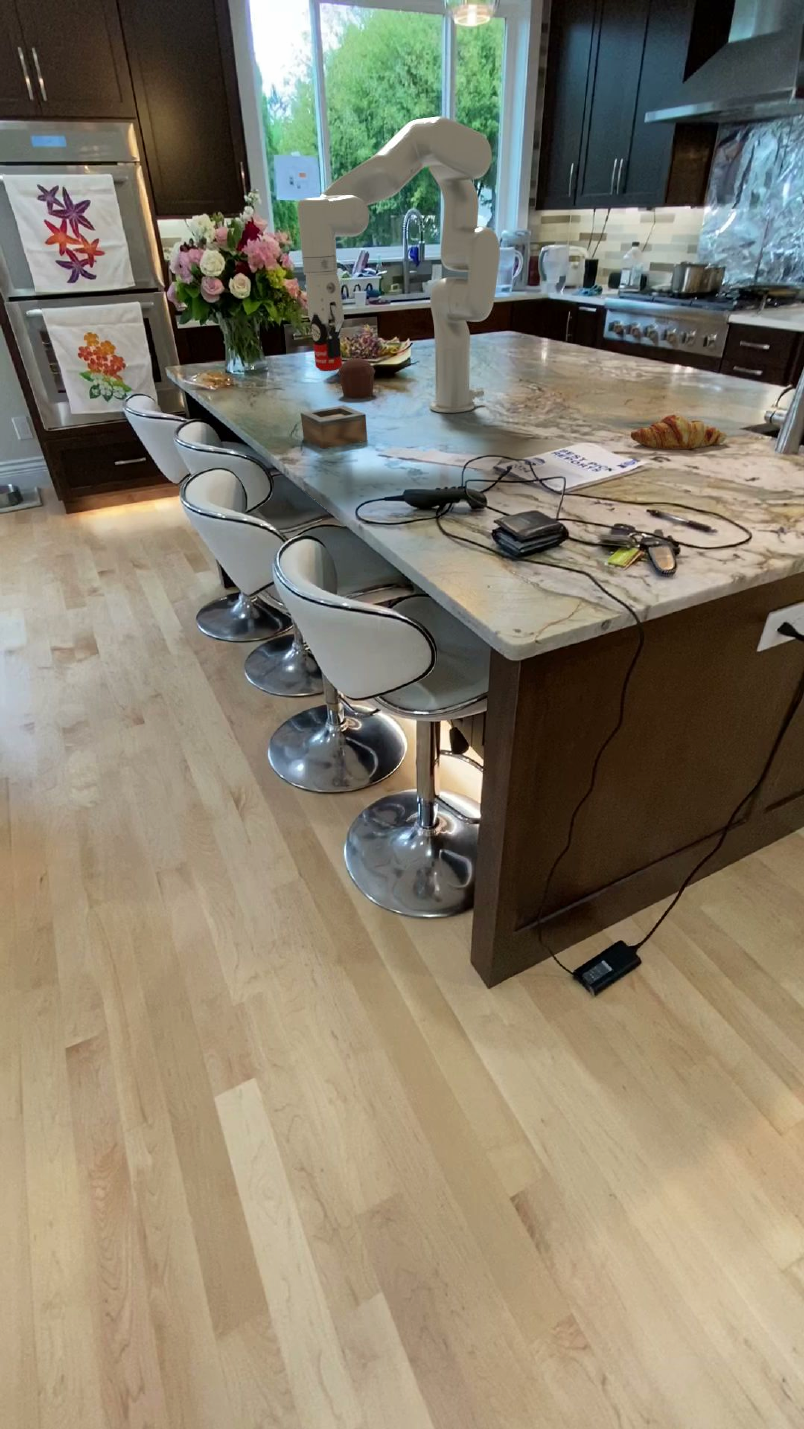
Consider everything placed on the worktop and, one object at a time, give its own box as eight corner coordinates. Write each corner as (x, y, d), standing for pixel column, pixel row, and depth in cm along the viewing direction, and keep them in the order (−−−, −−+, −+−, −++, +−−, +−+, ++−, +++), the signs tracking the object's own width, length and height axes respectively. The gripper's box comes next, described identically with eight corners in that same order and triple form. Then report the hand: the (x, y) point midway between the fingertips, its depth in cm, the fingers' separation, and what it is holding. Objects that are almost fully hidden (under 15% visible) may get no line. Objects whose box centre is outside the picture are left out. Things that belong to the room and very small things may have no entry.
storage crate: (345, 430, 189) (343, 405, 185) (367, 440, 180) (365, 414, 176) (303, 438, 184) (300, 412, 180) (323, 449, 175) (320, 422, 172)
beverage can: (317, 367, 175) (312, 310, 168) (343, 366, 175) (339, 309, 168) (314, 372, 170) (308, 314, 163) (341, 371, 170) (336, 313, 163)
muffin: (356, 389, 230) (353, 354, 224) (383, 392, 224) (382, 357, 218) (331, 397, 222) (328, 361, 216) (359, 400, 216) (357, 364, 211)
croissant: (717, 456, 170) (720, 421, 169) (733, 446, 160) (736, 408, 159) (625, 455, 172) (627, 420, 171) (635, 445, 162) (637, 408, 161)
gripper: (352, 266, 156) (359, 358, 166) (319, 263, 168) (326, 349, 179) (321, 269, 153) (329, 362, 163) (289, 265, 165) (298, 352, 176)
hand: (328, 354), depth 171 cm, fingers closed on beverage can, 6 cm apart
